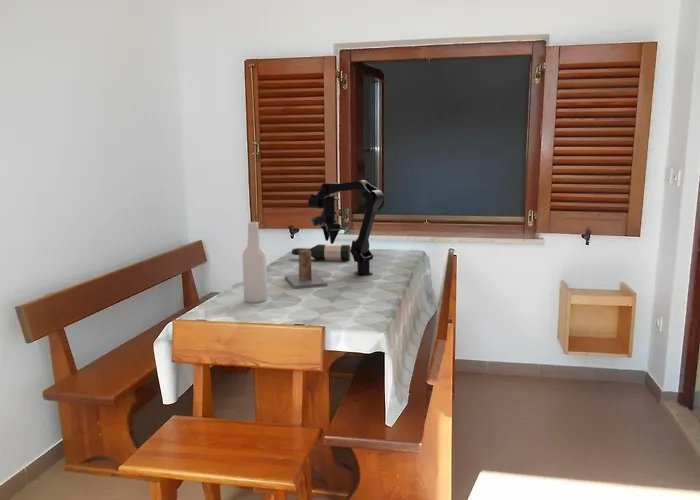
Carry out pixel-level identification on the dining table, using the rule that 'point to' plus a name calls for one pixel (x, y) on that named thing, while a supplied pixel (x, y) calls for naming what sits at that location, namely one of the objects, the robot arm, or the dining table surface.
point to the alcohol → (254, 267)
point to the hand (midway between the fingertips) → (329, 242)
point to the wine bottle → (328, 252)
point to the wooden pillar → (305, 265)
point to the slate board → (300, 283)
